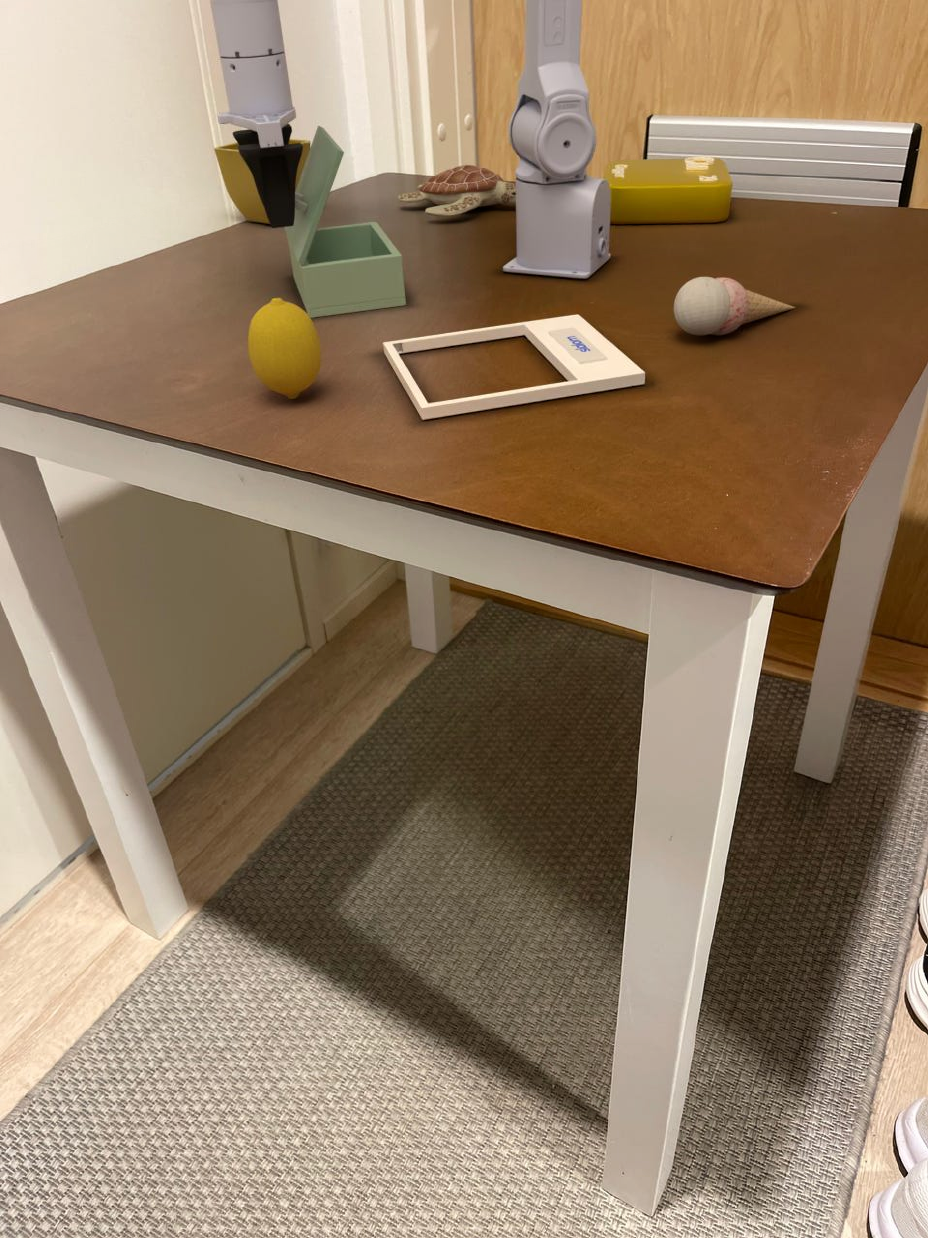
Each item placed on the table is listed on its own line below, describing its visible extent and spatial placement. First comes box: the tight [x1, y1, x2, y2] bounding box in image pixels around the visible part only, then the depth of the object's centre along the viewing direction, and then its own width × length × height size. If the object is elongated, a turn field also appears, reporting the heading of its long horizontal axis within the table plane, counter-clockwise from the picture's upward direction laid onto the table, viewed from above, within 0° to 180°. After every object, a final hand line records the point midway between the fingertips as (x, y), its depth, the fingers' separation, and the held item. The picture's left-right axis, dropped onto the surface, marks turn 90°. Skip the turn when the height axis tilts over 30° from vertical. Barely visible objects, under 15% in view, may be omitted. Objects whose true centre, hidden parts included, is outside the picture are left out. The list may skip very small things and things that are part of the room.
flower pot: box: [213, 138, 311, 225], centre depth 120 cm, size 9×9×9 cm
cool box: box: [286, 221, 407, 319], centre depth 95 cm, size 10×14×5 cm
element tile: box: [603, 156, 733, 225], centre depth 115 cm, size 15×15×5 cm
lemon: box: [247, 297, 322, 400], centre depth 73 cm, size 6×6×8 cm
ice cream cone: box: [673, 276, 796, 336], centre depth 82 cm, size 5×5×15 cm
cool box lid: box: [283, 125, 345, 264], centre depth 89 cm, size 10×14×5 cm
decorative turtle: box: [397, 164, 516, 217], centre depth 121 cm, size 18×17×5 cm
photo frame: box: [382, 314, 646, 421], centre depth 77 cm, size 15×1×18 cm
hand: (278, 216), depth 91 cm, fingers open, 7 cm apart
